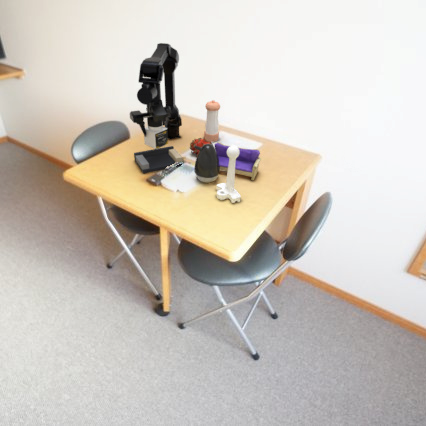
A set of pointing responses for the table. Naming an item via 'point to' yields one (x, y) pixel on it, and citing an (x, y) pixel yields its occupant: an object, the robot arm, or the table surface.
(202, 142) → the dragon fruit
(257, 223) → the table surface
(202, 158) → the dark grey tapered dome
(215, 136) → the pepper shaker
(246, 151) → the toy sofa
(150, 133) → the medicine bottle
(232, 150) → the joystick
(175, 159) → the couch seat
